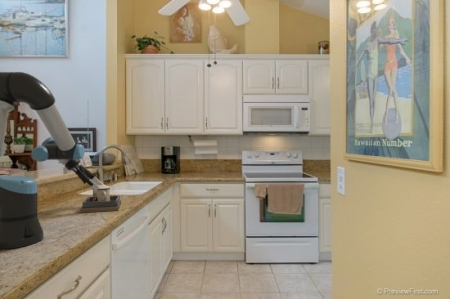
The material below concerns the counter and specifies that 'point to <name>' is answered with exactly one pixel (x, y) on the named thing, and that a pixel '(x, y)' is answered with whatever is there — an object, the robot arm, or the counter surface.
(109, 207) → the collar stand
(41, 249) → the counter surface
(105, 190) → the teacup with lid
